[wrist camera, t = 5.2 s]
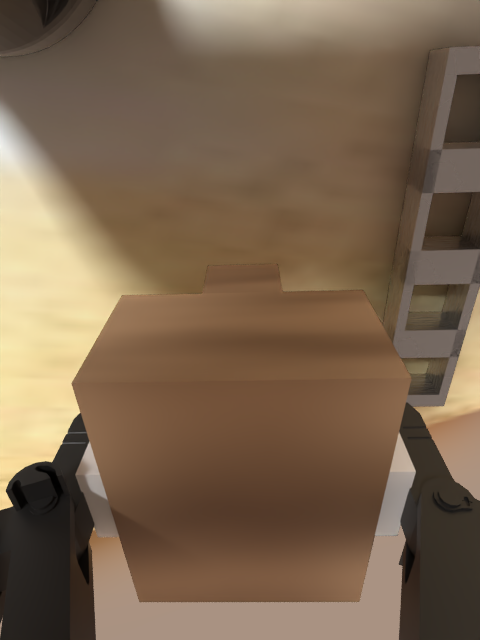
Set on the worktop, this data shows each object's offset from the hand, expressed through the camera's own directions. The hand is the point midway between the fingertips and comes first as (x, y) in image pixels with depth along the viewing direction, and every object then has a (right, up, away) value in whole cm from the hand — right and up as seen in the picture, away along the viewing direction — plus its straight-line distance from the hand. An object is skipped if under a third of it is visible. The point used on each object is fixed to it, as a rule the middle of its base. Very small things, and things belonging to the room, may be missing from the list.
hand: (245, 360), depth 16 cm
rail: (+13, +6, +12) cm, 19 cm away
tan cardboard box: (0, 0, 0) cm, 0 cm away
